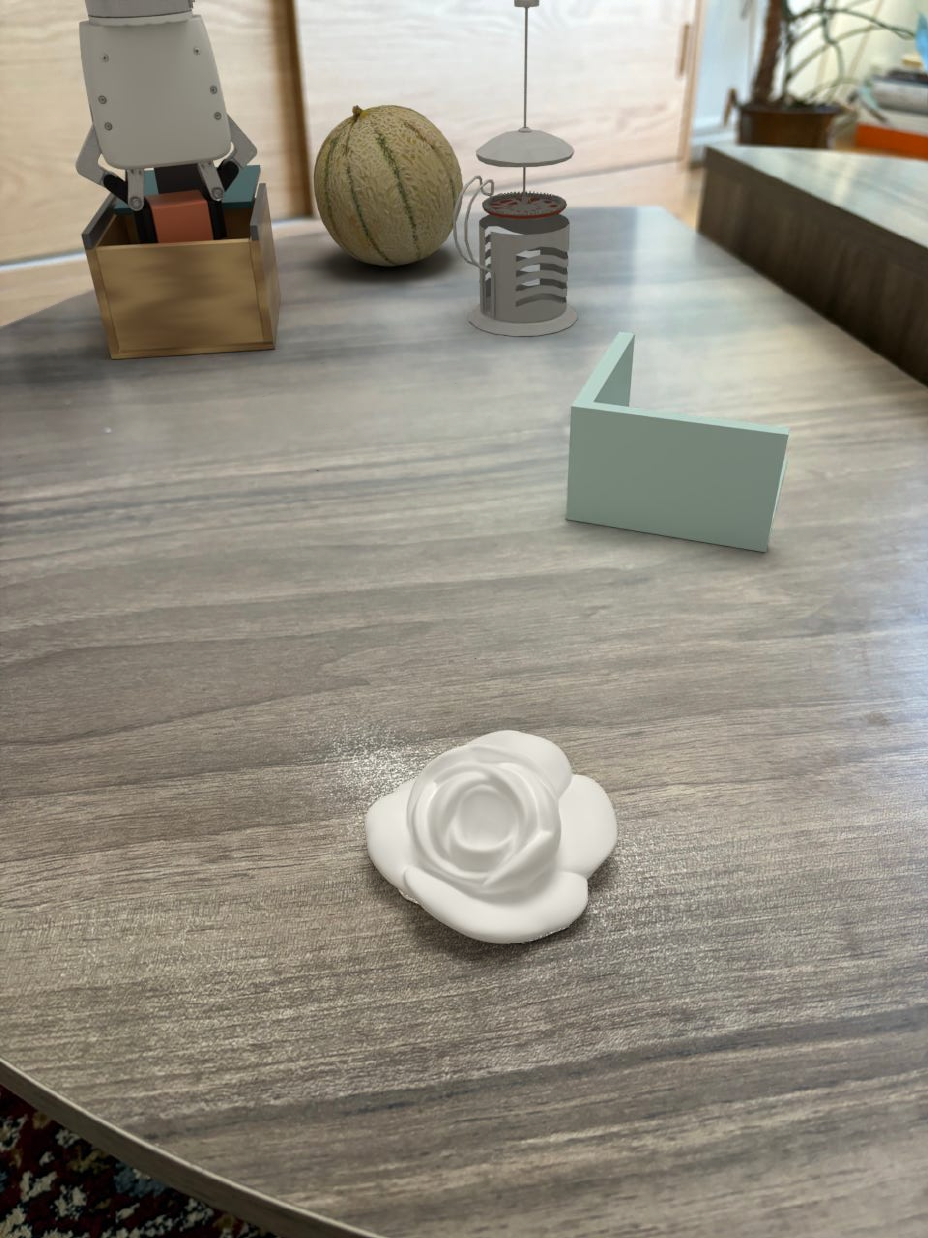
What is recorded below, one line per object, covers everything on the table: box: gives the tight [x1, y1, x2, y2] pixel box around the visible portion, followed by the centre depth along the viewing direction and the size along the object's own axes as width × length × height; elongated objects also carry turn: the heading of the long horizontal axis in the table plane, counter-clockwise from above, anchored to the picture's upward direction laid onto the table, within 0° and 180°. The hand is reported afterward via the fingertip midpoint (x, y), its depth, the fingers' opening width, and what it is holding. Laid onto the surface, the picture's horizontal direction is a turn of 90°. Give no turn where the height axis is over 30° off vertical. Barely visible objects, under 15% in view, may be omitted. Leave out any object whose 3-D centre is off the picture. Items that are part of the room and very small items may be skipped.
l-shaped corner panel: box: [565, 331, 791, 553], centre depth 62 cm, size 12×12×8 cm
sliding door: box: [114, 163, 262, 215], centre depth 89 cm, size 12×14×6 cm
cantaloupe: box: [313, 104, 464, 267], centre depth 98 cm, size 15×15×15 cm
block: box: [146, 190, 214, 243], centre depth 83 cm, size 4×4×4 cm
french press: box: [452, 0, 578, 337], centre depth 82 cm, size 10×12×25 cm
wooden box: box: [80, 182, 282, 360], centre depth 86 cm, size 14×14×10 cm
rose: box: [364, 729, 618, 945], centre depth 39 cm, size 10×4×10 cm
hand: (185, 248), depth 84 cm, fingers closed on block, 4 cm apart
